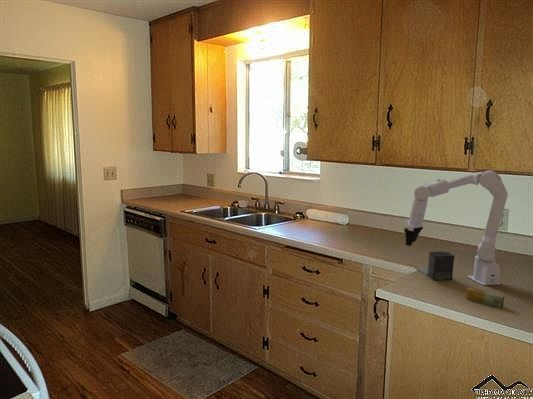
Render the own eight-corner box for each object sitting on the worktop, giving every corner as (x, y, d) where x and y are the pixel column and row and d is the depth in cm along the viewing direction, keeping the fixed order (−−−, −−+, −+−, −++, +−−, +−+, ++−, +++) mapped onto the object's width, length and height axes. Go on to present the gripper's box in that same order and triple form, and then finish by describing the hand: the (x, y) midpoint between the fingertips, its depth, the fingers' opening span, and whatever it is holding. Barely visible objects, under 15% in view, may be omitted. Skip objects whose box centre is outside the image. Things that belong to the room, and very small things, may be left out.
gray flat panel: (443, 274, 174) (443, 273, 174) (425, 275, 172) (425, 274, 172) (431, 267, 183) (431, 266, 182) (414, 268, 181) (414, 266, 181)
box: (445, 275, 173) (447, 251, 171) (452, 280, 167) (455, 255, 166) (426, 275, 172) (429, 251, 170) (433, 280, 167) (436, 255, 165)
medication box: (504, 307, 144) (506, 296, 143) (503, 309, 142) (504, 298, 141) (467, 297, 152) (468, 286, 151) (465, 299, 150) (466, 288, 149)
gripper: (412, 208, 185) (405, 237, 189) (403, 213, 173) (396, 244, 176) (428, 212, 182) (421, 241, 185) (421, 218, 170) (413, 249, 173)
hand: (410, 243), depth 181 cm, fingers open, 7 cm apart
